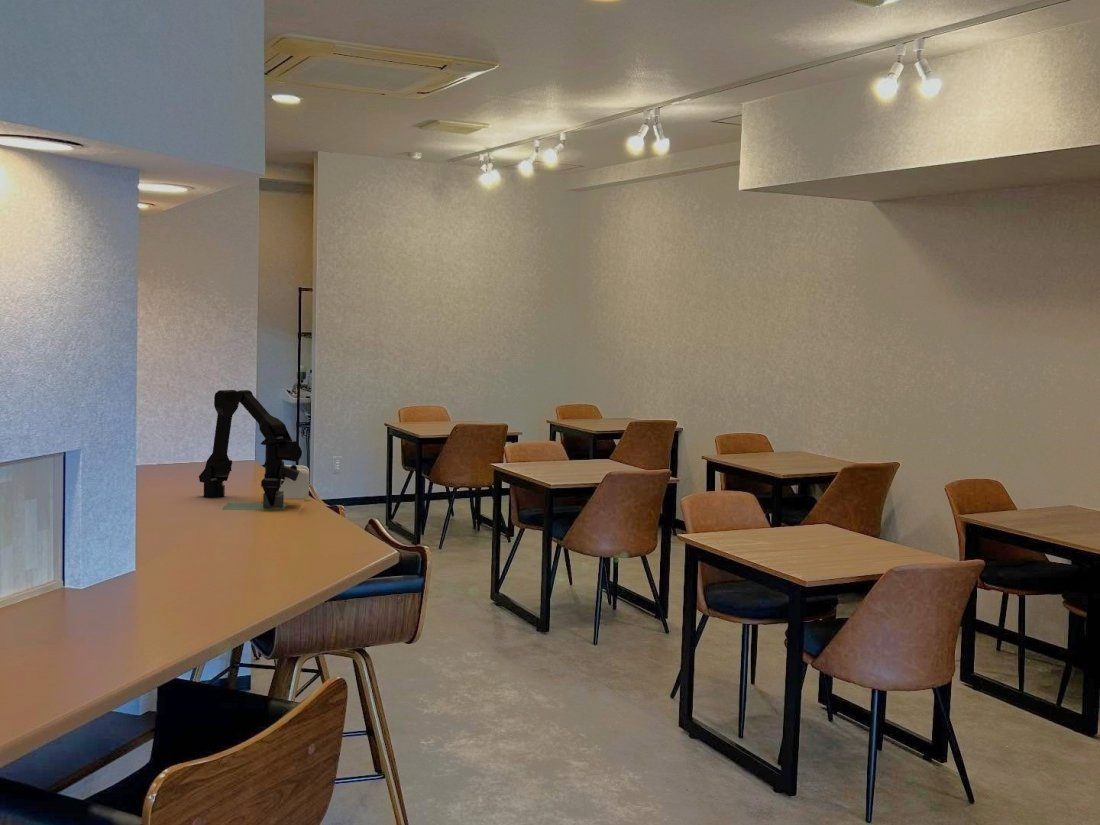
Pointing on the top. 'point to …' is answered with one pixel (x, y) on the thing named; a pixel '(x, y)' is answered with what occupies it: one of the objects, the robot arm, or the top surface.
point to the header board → (249, 506)
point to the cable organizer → (296, 484)
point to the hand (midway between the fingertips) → (273, 503)
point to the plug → (278, 500)
